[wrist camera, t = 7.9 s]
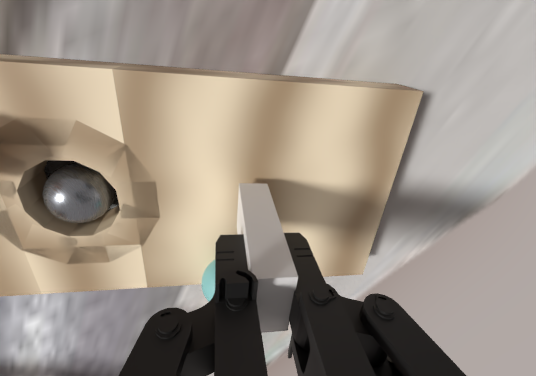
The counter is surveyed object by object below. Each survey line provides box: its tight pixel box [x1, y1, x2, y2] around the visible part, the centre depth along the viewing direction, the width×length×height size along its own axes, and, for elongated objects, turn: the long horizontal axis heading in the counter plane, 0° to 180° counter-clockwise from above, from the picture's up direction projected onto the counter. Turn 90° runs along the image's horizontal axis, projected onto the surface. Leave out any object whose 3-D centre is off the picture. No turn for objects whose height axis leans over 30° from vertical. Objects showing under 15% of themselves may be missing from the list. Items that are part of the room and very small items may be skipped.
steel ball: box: [43, 164, 114, 223], centre depth 15 cm, size 3×3×3 cm
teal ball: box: [202, 260, 215, 301], centre depth 17 cm, size 3×3×3 cm
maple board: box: [0, 54, 423, 296], centre depth 17 cm, size 24×13×2 cm, turn 85°
